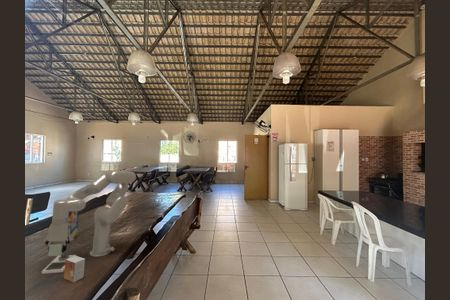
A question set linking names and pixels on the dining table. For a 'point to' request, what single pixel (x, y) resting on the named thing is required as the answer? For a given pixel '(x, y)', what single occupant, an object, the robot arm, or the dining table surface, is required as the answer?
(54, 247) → the green slotted box
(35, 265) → the dining table surface
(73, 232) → the juice carton
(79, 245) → the dining table surface
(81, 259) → the small box
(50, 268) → the post board
